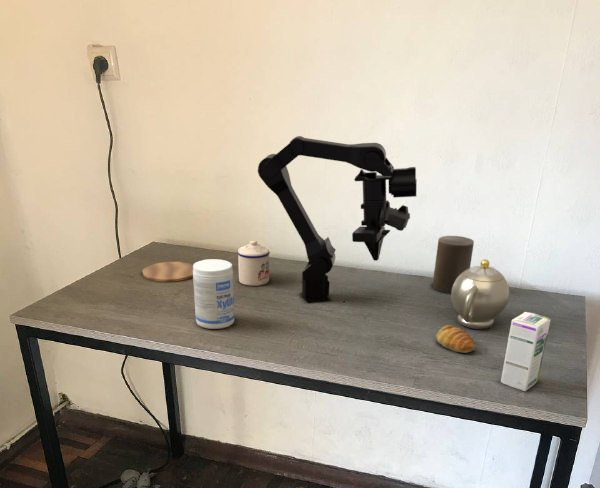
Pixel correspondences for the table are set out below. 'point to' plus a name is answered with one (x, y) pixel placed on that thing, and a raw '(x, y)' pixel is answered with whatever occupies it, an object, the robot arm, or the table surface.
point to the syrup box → (525, 350)
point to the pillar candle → (451, 261)
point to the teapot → (479, 296)
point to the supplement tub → (213, 293)
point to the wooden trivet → (168, 271)
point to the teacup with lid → (253, 264)
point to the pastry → (455, 339)
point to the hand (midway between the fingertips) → (376, 260)
